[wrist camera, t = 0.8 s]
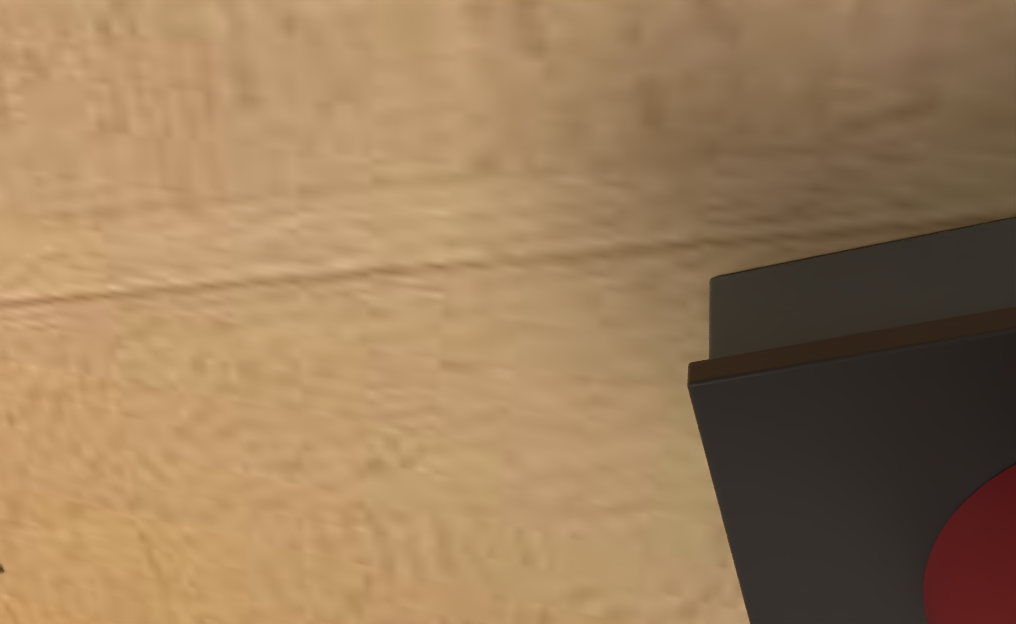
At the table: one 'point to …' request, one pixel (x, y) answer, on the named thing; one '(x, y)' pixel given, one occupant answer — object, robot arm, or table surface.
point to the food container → (856, 417)
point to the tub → (976, 559)
